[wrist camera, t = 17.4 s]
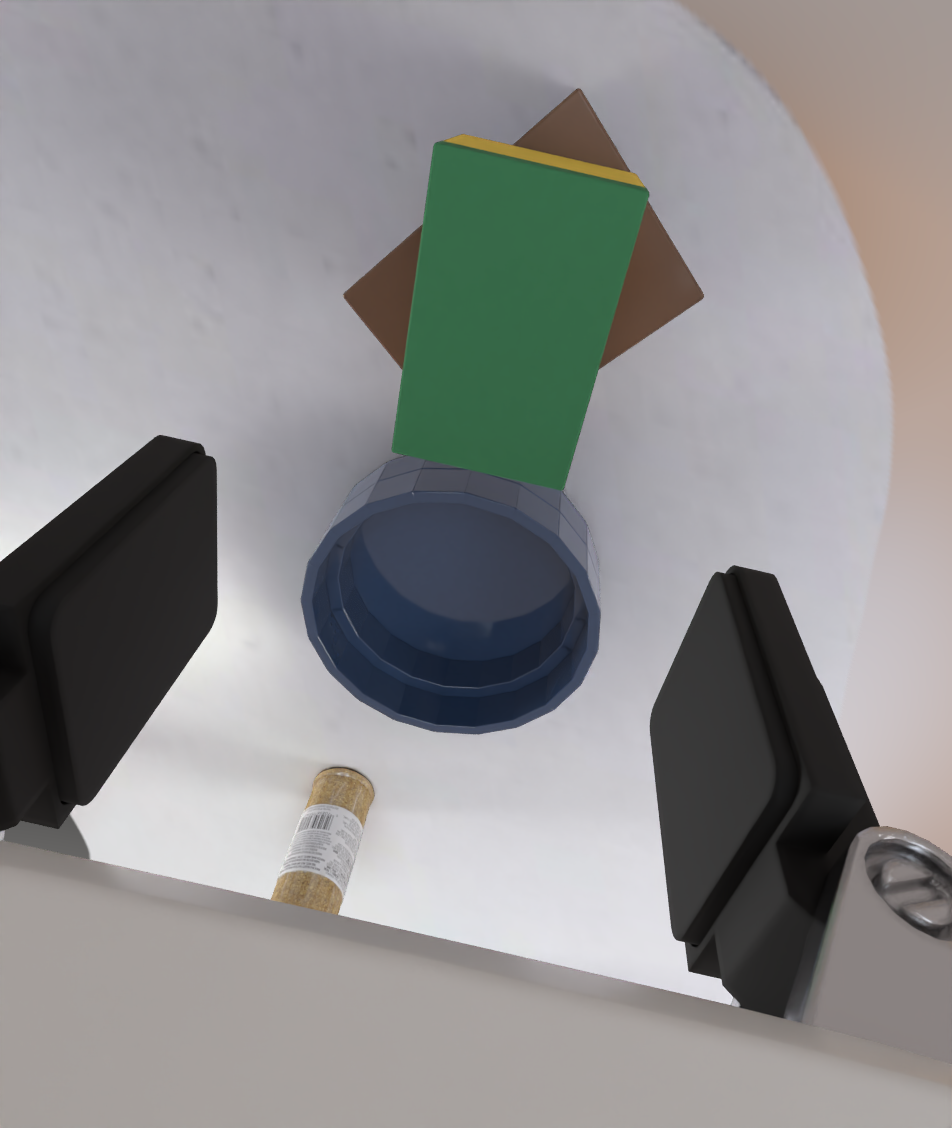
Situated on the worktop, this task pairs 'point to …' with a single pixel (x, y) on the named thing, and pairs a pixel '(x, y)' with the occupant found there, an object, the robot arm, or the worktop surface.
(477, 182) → the sponge
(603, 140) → the sponge stand
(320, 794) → the spice jar
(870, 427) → the worktop surface
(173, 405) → the worktop surface
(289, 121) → the worktop surface
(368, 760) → the worktop surface
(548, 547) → the bowl
